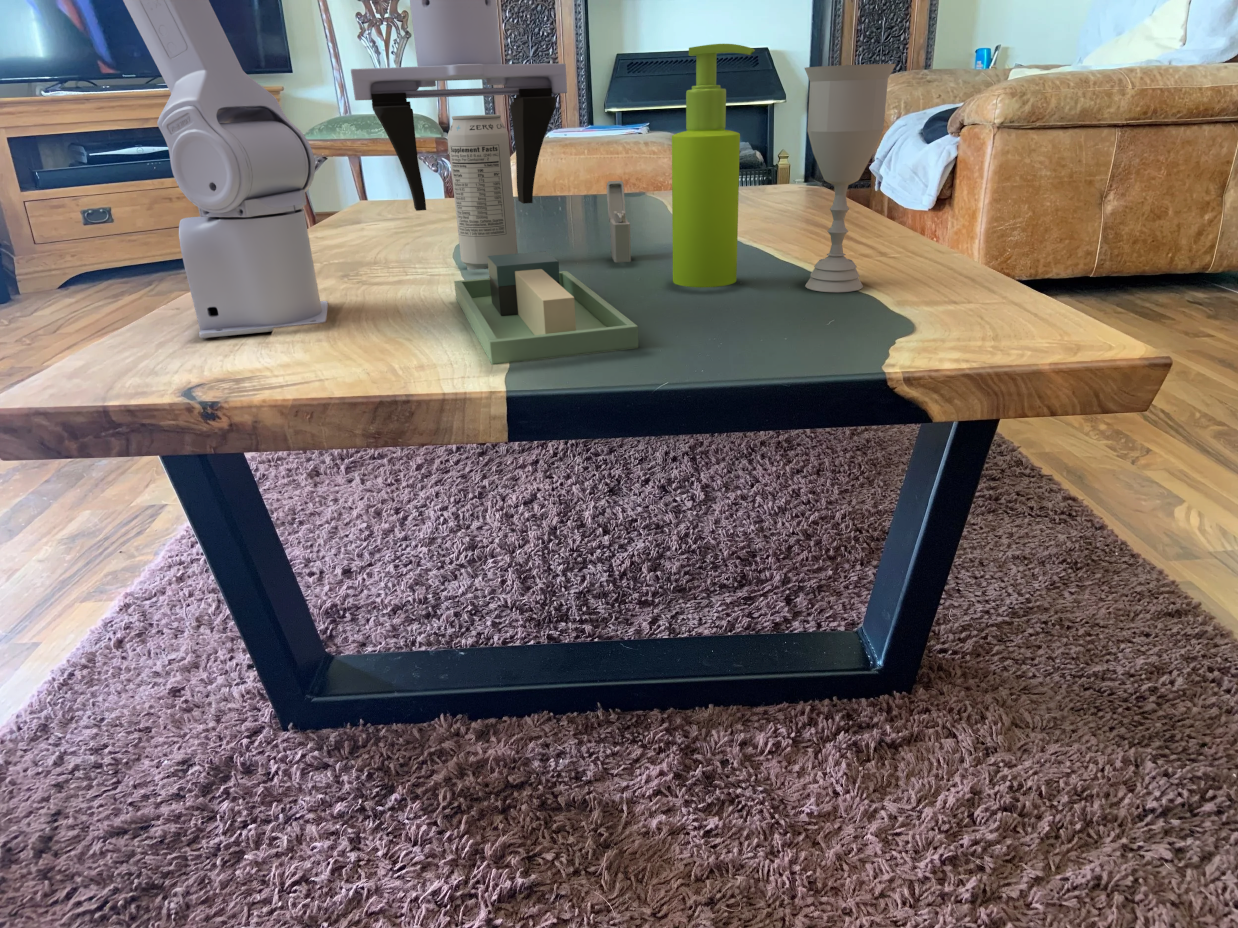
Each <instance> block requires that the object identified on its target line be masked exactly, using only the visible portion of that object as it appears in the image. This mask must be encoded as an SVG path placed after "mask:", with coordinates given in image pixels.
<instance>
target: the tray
mask: <svg viewBox="0 0 1238 928" xmlns="http://www.w3.org/2000/svg"><path fill="white" fill-rule="evenodd" d="M559 277H560V281H559V282H560V285H561V286H562V287H563V288H564V289H565V290H566V291H567V292H569V293H570V294H571V295H572V296H573V297H574V301H575V320H576V331H568V332H558V333H549V334H540V335H534V334H533V332H532V331H531V330H530V329H529V327H528V326H527V325H526V324H525V322H524V321H523V320H522V319H521V317H520V316H519V315H508V316H501V315H500V314H499V312H498V311H497V309H496V308H495V306H494V305H493V304H492V299H491V289H490V278H489V277H483V278H472V279H461V280H460V279H459V280H454V281H453V282H454V291H455V292H454V293H455V299H456V301H457V303H458V305H459V307H460V308H461V310H462V313H463V314H464V316H465V318H466V320H467V322H468V324H469V325H470V327H471V329H472V330H473V332H474V334H475V336H476V338H477V340H478V341H479V344H480V345H481V347H482V349H483V351H484V353H485V355H486V356H487V359H488V360H489V362H490V364H491V365H492V366H494V365H501V364H503V365H504V364H511V363H520V362H527V361H529V362H530V361H537V360H538V361H539V360H546V359H555V358H556V359H557V358H564V357H571V356H581V355H588V354H589V355H590V354H599V353H607V352H615V351H616V352H617V351H624V350H633V349H634V350H635V349H639V326H638V325H637V324H636V323H635V322H633V321H632V320H631V319H629V317H627V316H626V315H624V314H623V313H621V311H619V310H618V309H616V308H615V307H614V306H613V305H611V304H610V303H609V302H608V301H606V300H605V299H603V297H601V295H599V294H597V293H596V292H595V291H594V290H592V289H591V288H590V287H588V286H587V285H586V284H584V283H583V282H581V280H580V279H578V278H577V277H575V276H574V275H573V274H571V273H570V272H569V271H568V270H563V271H559Z"/></svg>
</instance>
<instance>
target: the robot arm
mask: <svg viewBox="0 0 1238 928" xmlns="http://www.w3.org/2000/svg"><path fill="white" fill-rule="evenodd" d="M122 1H123V3H124V6H125V7H126V9H127V11H128V13H129V15H130V17H131V19H132V21H133V23H134V24H135V27H136V29H137V30H138V33H139V35H140V36H141V38H142V40H143V42H144V44H145V46H146V48H147V50H148V51H149V54H150V56H151V58H152V60H153V61H154V63H155V65H156V66H157V69H158V71H159V73H160V75H161V77H162V79H163V81H164V82H165V83H164V84H165V85H166V86H167V89H168V91H169V92H170V96H169V98H168V100H167V102H166V104H165V105H164V107H163V109H162V111H161V113H160V114H159V117H158V119H157V122H156V123H157V127H158V129H159V130H160V132H161V134H162V136H163V138H164V140H165V143H166V146H167V149H168V154H169V161H170V168H171V172H172V175H173V179H174V181H175V182H176V185H177V187H178V188H179V190H180V191H181V192H182V194H183V195H184V196H185V198H186V199H187V200H188V201H189V202H190V203H192V204H193V205H194V206H195V207H197V209H198V213H199V216H192V217H191V216H190V217H184V218H181V219H180V220H179V224H178V238H179V247H180V252H181V258H182V262H183V267H184V270H185V274H186V279H187V283H188V287H189V291H190V296H191V299H192V303H193V308H194V312H195V315H196V320H197V324H198V329H199V332H198V335H199V338H201V339H208V338H218V337H219V338H220V337H228V336H237V335H238V336H239V335H249V334H260V333H270V332H273V330H274V329H278V328H279V329H280V328H291V327H301V326H311V325H321V324H325V323H327V319H328V309H329V301H327V300H321V299H320V291H319V287H318V286H319V285H318V281H317V275H316V270H315V265H314V264H315V263H314V258H313V253H312V247H311V242H310V236H309V230H308V226H307V220H306V214H305V209H304V206H307V197H306V192H307V191H308V190H309V189H310V188H311V186H312V184H313V181H314V178H315V173H316V162H315V156H314V152H313V149H312V147H311V145H310V142H309V140H308V138H307V137H306V136H305V134H304V133H303V132H302V131H301V130H300V129H299V127H297V126H296V125H295V124H294V123H293V122H292V121H291V120H290V119H289V118H288V117H287V115H286V114H285V112H284V111H283V109H282V107H281V105H280V103H279V101H278V99H277V97H275V95H273V94H272V93H271V92H270V91H268V90H267V89H266V88H265V87H264V86H263V85H261V84H260V83H258V82H257V81H256V80H255V79H254V78H252V77H250V75H248V74H247V73H246V72H245V71H244V70H243V68H242V66H241V64H240V62H239V60H238V57H237V55H236V53H235V51H234V49H233V47H232V45H231V43H230V41H229V39H228V37H227V35H226V33H225V30H224V29H223V27H222V25H221V22H220V21H219V19H218V16H217V14H216V12H215V11H214V8H213V7H212V3H211V2H210V0H122ZM409 4H410V11H411V23H412V30H413V40H414V48H415V56H416V64H417V66H397V67H396V66H395V67H393V66H392V67H368V68H367V67H366V68H364V67H363V68H351V69H350V75H351V81H352V83H351V84H352V88H353V89H352V90H353V95H354V101H371V108H372V111H373V113H374V114H375V116H376V117H377V119H378V121H379V123H380V124H381V126H382V128H383V130H384V132H385V134H386V136H387V138H388V139H389V141H390V143H391V146H392V147H393V149H394V151H395V154H396V156H397V158H398V160H399V162H400V165H401V168H402V170H403V172H404V175H405V178H406V181H407V183H408V187H409V190H410V193H411V197H412V201H413V207H414V210H415V211H417V212H420V211H427V204H426V195H425V190H424V185H423V180H422V175H421V170H420V165H419V157H418V149H417V140H416V138H417V137H416V130H415V129H416V128H415V119H414V109H413V108H412V105H411V101H408V99H429V98H431V99H432V98H457V97H458V98H459V97H486V96H489V97H490V96H491V97H492V96H512V95H513V96H514V95H515V97H513V98H512V102H511V103H510V104H509V109H510V116H511V123H512V131H513V138H514V139H513V140H514V147H515V162H516V163H515V164H516V166H515V167H516V170H515V171H516V191H517V192H516V193H517V200H518V202H520V203H521V204H525V205H526V204H533V201H534V200H533V197H534V187H535V186H534V184H535V178H536V173H537V167H538V166H537V165H538V162H539V157H540V153H541V150H542V146H543V143H544V139H545V137H546V134H547V131H548V127H549V125H550V123H551V120H552V117H553V115H554V112H555V109H556V101H557V100H556V96H554V95H555V94H556V95H557V94H567V93H568V83H567V81H568V80H567V64H566V63H502V55H501V52H502V51H501V42H500V41H501V39H500V29H499V27H500V26H499V20H498V19H499V17H498V4H497V0H409ZM476 80H477V81H480V80H486V85H487V86H501V85H502V86H503V87H481V88H480V87H478V88H449V89H448V88H443V89H419V88H433V87H436V86H437V84H436V82H447V81H451V82H452V81H476Z"/></svg>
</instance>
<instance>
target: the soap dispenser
mask: <svg viewBox="0 0 1238 928" xmlns="http://www.w3.org/2000/svg"><path fill="white" fill-rule="evenodd" d="M754 52H756V49H754V48H753V47H749V46H745V45H742V44H734V43H711V44H703V45H696V46H691V47H688V56H690V57H695V85H692V86H691V89H687V90H686V93H685V129H686V130H683V131H680V132H677V133H675V134H673V135H671V204H672V205H671V214H672V215H671V218H672V221H671V222H672V223H671V225H672V230H671V231H672V232H671V233H672V235H671V236H672V283H673V284H674V285H678V286H682V287H687V288H719V287H726V286H730V285H733V284H735V283H736V282H737V279H738V277H737V275H738V274H737V273H738V237H739V236H738V234H739V233H738V232H739V231H738V229H739V197H740V196H739V195H740V194H739V191H740V190H739V189H740V151H741V147H740V146H741V133H739V132H738V131H735V130H730V129H726V128H727V127H726V124H727V123H726V120H727V116H726V115H727V89H726V88H722V87H721V85H720V84H717V59H718V57H717V55H718V54H729V53H733V54H743V55H748V56H751V55H752V54H753V53H754Z"/></svg>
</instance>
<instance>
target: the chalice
mask: <svg viewBox="0 0 1238 928" xmlns="http://www.w3.org/2000/svg"><path fill="white" fill-rule="evenodd" d="M896 65H897V63H870V64H845V65H842V64H841V65H824V66H808V67H807V66H806V67H804V71H805V73H806V75H807V78H808V80H809V94H808V114H807V135H808V139H809V143H810V146H811V150H812V154H813V157H814V159H815V161H816V163H817V165H818V166H817V167H818V168H819V171H820V174H821V175H822V178H823V181H825V182H827V183H828V184H830V185H833V189H834V190H833V191H834V198H833V202H832V205H831V207H830V208H829V210H830V213H831V214H832V223H831V226H830V228H828V230H827V233H828V234H829V235H830V241H831V243H830V244H831V245H830V250H829V253H826V257H824V258H821V259H819V260H818V261H817V262H816V263H815V264H814V265H813V267H814V268H813V270H812V272H810V275H809V279H808V280H807V282H806V284H805V286H804V287H805V288H807V289H808V290H811V291H817V292H822V293H823V292H824V293H849V292H855V291H860V290H861V289H863V288H864V285H863V284H862V282H861V280H860V274H859V272H858V270H857V267H858V266H857V265H856V263H855V262H854V260H853V259H850V258H847V257H846V253H844V250H843V243H844V240H845V235H846V234H847V233H848V232H849V229H848V228H847V227H846V223H845V218H846V216H847V213H848V211H850V207H849V206H848V203H847V192H848V190H849V189H848V188H849V185H852V184H854V183H856V182H858V181H859V180H860V178H861V176H862V175H863V174H864V171H865V169H866V168H867V166H868V164H869V162H870V160H871V158H872V157H873V155H874V153H875V151H876V149H877V146H878V144H879V142H880V139H881V136H882V134H883V131H884V127H885V116H886V104H887V96H888V95H887V93H888V82H889V78H890V76H891V74H892V72H893V70H894V69H895V67H896Z"/></svg>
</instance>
